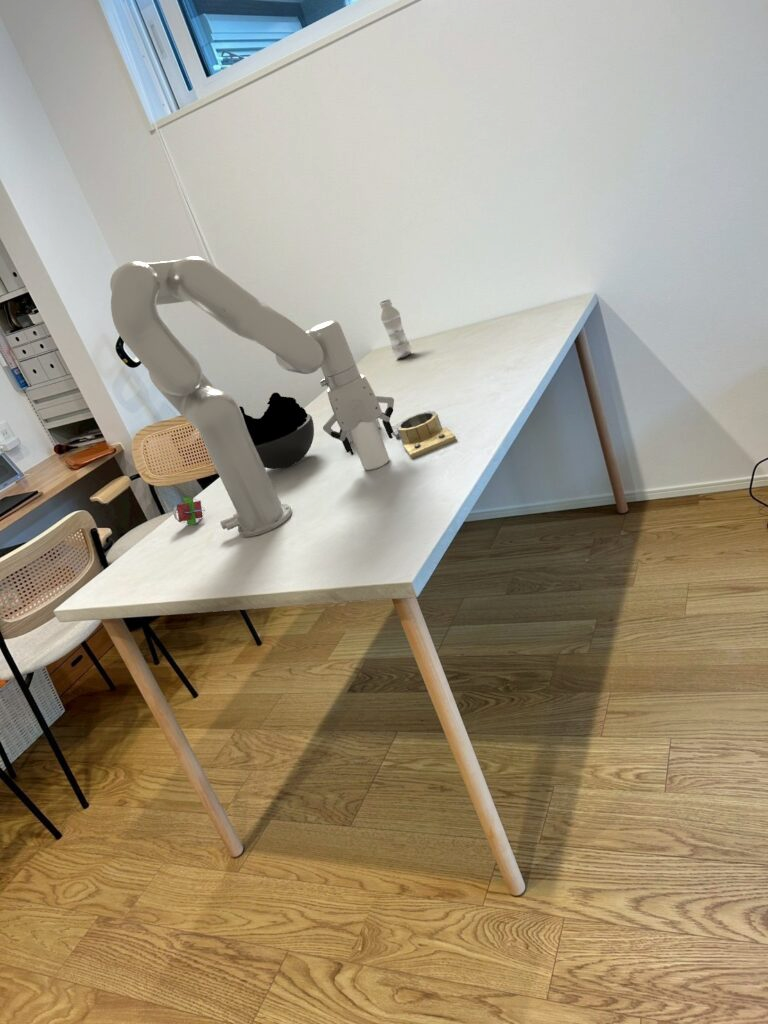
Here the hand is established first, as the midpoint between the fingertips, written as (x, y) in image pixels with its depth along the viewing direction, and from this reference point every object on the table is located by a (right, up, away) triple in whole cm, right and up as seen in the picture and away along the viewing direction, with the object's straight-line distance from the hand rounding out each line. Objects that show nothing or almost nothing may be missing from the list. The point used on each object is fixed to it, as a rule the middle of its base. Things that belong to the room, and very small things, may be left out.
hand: (371, 445), depth 181 cm
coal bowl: (-22, -3, +26) cm, 34 cm away
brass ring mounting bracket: (+12, +3, +9) cm, 15 cm away
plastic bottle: (+10, +38, +91) cm, 100 cm away
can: (+1, -4, +2) cm, 5 cm away
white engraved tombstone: (-2, +5, +27) cm, 27 cm away
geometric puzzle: (-43, -18, +12) cm, 48 cm away
